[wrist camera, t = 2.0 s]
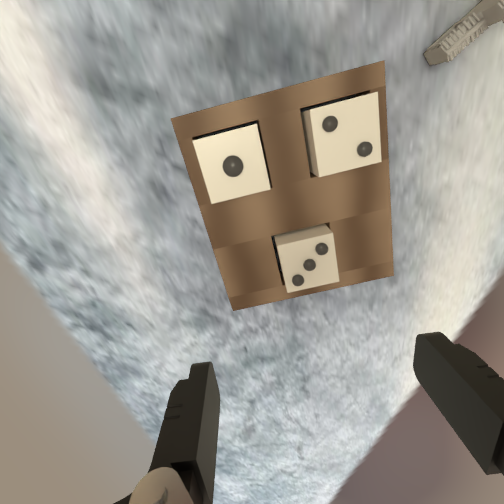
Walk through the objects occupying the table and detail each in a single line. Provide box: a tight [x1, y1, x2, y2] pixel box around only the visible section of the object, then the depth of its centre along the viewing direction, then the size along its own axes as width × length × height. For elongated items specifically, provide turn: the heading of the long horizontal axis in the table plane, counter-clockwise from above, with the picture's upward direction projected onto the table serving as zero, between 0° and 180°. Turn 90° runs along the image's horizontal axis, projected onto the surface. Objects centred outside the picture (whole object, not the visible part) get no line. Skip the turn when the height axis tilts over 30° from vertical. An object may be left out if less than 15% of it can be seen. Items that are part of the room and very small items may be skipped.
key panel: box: [171, 61, 394, 311], centre depth 27 cm, size 17×19×3 cm
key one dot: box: [193, 124, 271, 204], centre depth 23 cm, size 5×5×4 cm
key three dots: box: [274, 223, 339, 293], centre depth 27 cm, size 5×5×4 cm
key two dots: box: [301, 92, 382, 177], centre depth 23 cm, size 5×5×4 cm
